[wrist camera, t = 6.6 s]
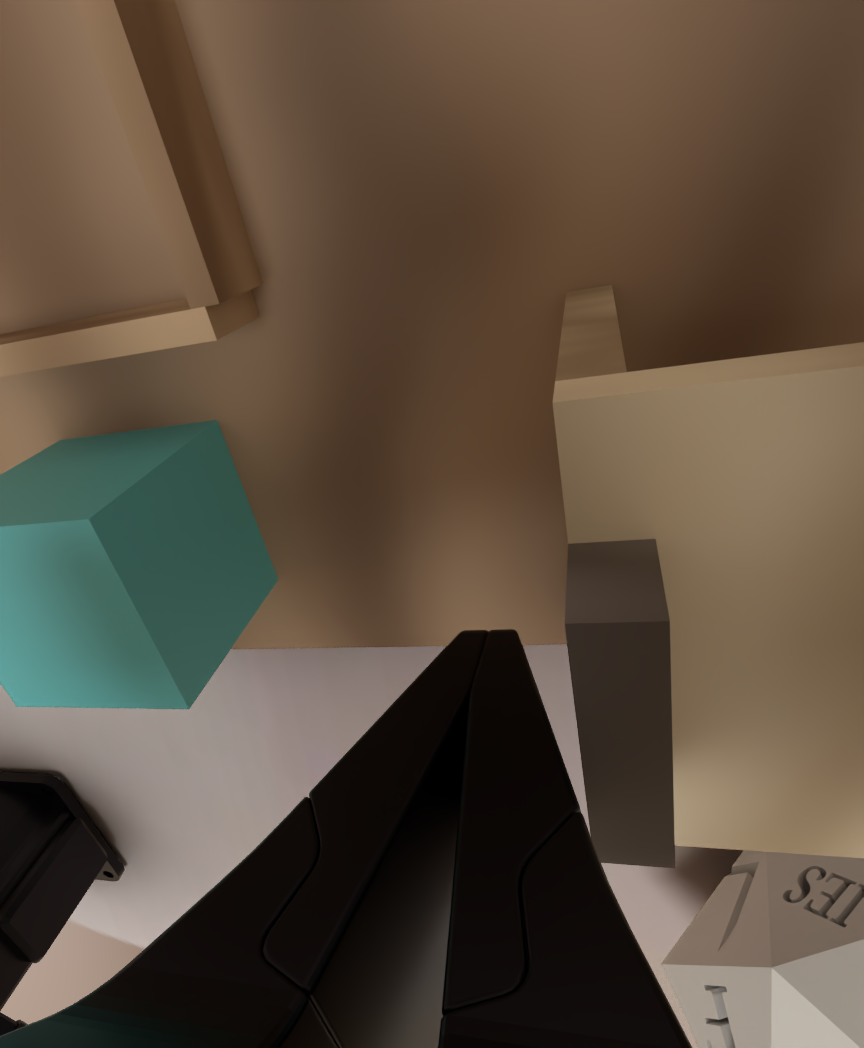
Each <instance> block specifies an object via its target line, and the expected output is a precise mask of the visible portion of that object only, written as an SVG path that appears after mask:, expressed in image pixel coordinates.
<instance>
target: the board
mask: <svg viewBox="0 0 864 1048" xmlns="http://www.w3.org/2000/svg"><path fill="white" fill-rule="evenodd" d="M607 285H612V289H613V294H614V300H615V306H616V312H617V318H618V324H619V329H620V335H621V341H622V347H623V353H624V358H625V364H626V370H627V372H632V371H640V370H648V369H656V368H664V367H672V366H680V365H688V364H695V363H703V362H711V361H719V360H727V359H735V358H743V357H751V356H758V355H766V354H774V353H782V352H790V351H798V350H806V349H814V348H822V347H829V346H837V345H845V344H853V343H861V342H864V0H0V475H1V474H3V473H4V472H6V471H8V470H10V469H11V468H13V467H15V466H16V465H18V464H20V463H22V462H23V461H25V460H27V459H28V458H30V457H32V456H34V455H35V454H37V453H39V452H41V451H42V450H44V449H46V448H47V447H49V446H51V445H53V444H54V443H56V442H58V441H59V440H65V439H72V438H80V437H88V436H96V435H104V434H111V433H119V432H127V431H135V430H142V429H150V428H158V427H166V426H173V425H181V424H189V423H197V422H204V421H212V420H217V421H218V423H219V426H220V429H221V431H222V434H223V436H224V439H225V442H226V444H227V447H228V449H229V452H230V455H231V457H232V460H233V463H234V465H235V468H236V470H237V473H238V476H239V478H240V481H241V483H242V486H243V489H244V491H245V494H246V497H247V499H248V502H249V504H250V507H251V510H252V512H253V515H254V517H255V520H256V523H257V525H258V528H259V530H260V533H261V536H262V538H263V541H264V544H265V546H266V549H267V551H268V554H269V557H270V559H271V562H272V564H273V567H274V570H275V572H276V575H277V577H278V581H277V583H276V584H275V585H274V587H273V588H272V590H271V591H270V593H269V594H268V596H267V597H266V598H265V600H264V601H263V603H262V604H261V606H260V607H259V609H258V610H257V611H256V613H255V614H254V616H253V617H252V619H251V620H250V622H249V623H248V625H247V626H246V627H245V629H244V630H243V632H242V633H241V635H240V636H239V638H238V639H237V640H236V642H235V643H234V645H233V646H232V648H231V649H271V648H339V647H408V646H447V645H448V644H449V643H450V642H451V641H452V640H453V639H454V638H455V637H456V636H457V635H458V634H459V633H460V632H462V631H465V630H487V631H490V630H497V629H514V630H516V631H517V632H518V635H519V638H520V640H521V643H522V645H544V644H567V638H566V630H565V605H566V582H567V559H568V538H567V529H566V520H565V511H564V502H563V493H562V484H561V475H560V466H559V457H558V448H557V439H556V430H555V421H554V412H553V403H552V402H553V394H554V386H555V378H556V370H557V362H558V354H559V347H560V339H561V331H562V323H563V315H564V307H565V299H566V292H571V291H577V290H583V289H589V288H595V287H601V286H607Z"/></svg>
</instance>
